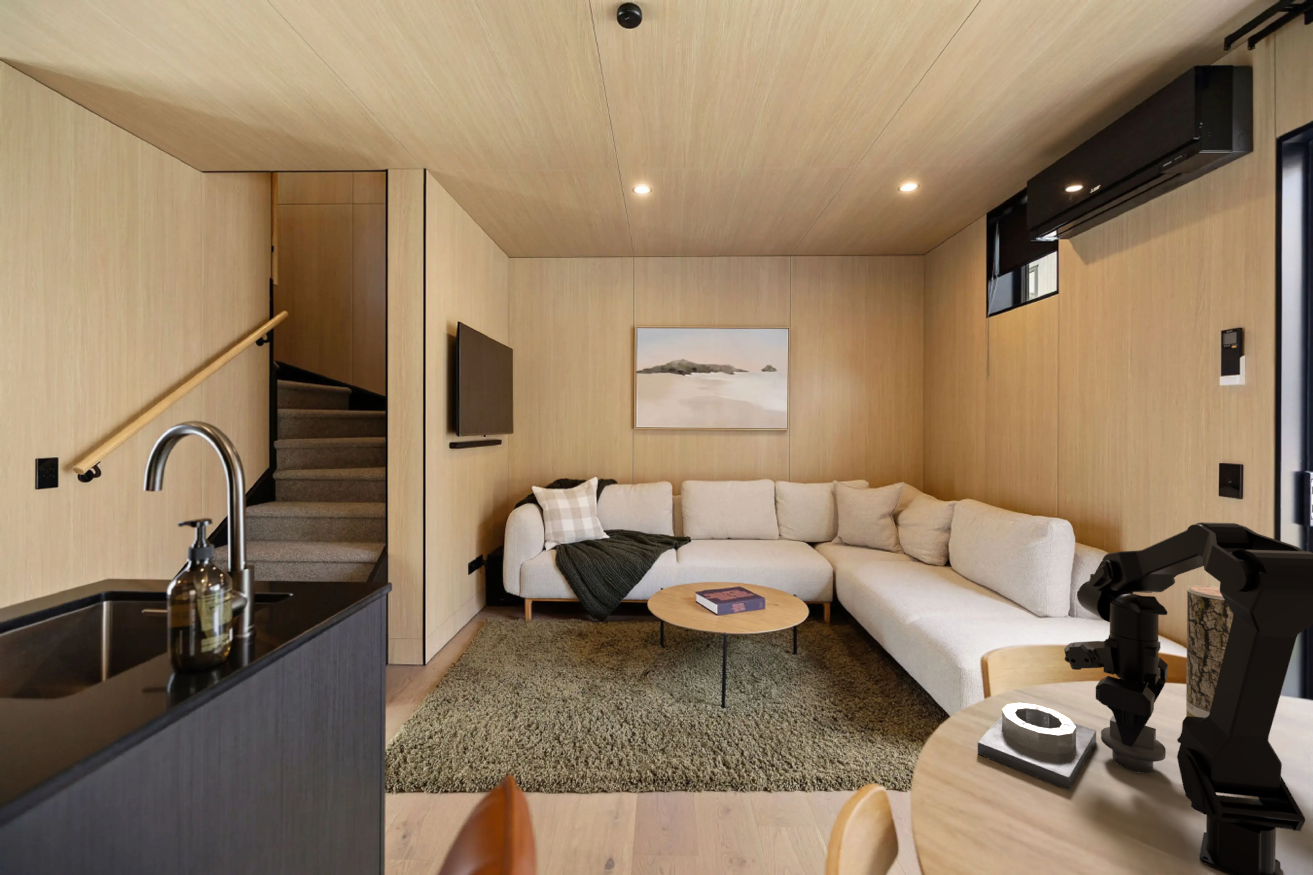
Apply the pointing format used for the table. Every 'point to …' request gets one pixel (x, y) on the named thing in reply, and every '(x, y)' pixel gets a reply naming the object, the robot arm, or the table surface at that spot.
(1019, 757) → the ring on base plate
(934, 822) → the table surface
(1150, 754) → the grip bar knob
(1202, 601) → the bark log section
